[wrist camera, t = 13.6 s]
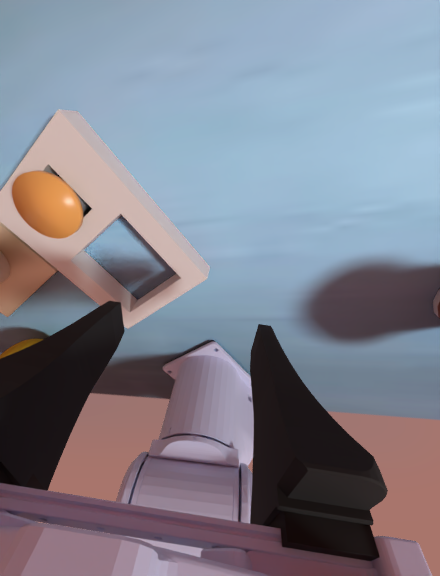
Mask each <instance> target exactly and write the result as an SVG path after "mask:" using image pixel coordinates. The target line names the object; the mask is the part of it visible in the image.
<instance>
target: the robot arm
mask: <svg viewBox="0 0 440 576" xmlns="http://www.w3.org/2000/svg"><path fill="white" fill-rule="evenodd" d="M123 334H124V324H123V316H122V307H121V302H115V301H108V302H106V303H104V304H103V305H101V306H100V307H98V308H97V309H95V310H93V311H92V312H90V313H89V314H87V315H86V316H84V317H82V318H81V319H79V320H78V321H76V322H74V323H73V324H71V325H69V326H67V327H66V328H64V329H62V330H60V331H59V332H57V333H55V334H53V335H51V336H50V337H48V338H46V339H44V340H42V341H40V342H38V343H35V344H33V345H31V346H29V347H27V348H25V349H22V350H20V351H18V352H15V353H13V354H10V355H8V356H6V357H3V358H1V359H0V576H432V574H431V572H430V570H429V567H428V565H427V562H426V560H425V557H424V555H423V553H422V550H421V548H420V546H419V544H418V543H417V542H416V541H411V540H405V539H398V538H392V537H385V536H377V537H373V534H372V530H371V527H370V525H373V519H372V516H371V513H370V509H371V508H372V507H374V506H375V505H377V504H378V503H379V502H381V501H382V500H383V499H384V498H385V497H386V495H387V491H388V490H387V488H386V486H385V483H384V480H383V478H382V475H381V472H380V470H379V468H378V466H377V464H376V461H375V459H374V457H373V456H372V455H371V454H370V453H369V452H367V451H366V450H365V449H364V448H363V447H362V446H361V445H360V444H359V443H357V442H356V441H355V440H354V439H353V438H352V437H351V436H350V435H349V434H348V433H347V432H346V431H345V430H344V429H343V428H342V427H341V426H340V425H339V424H338V423H337V422H336V421H335V420H334V419H333V418H332V417H331V416H330V415H329V414H328V412H327V411H326V410H325V409H324V408H323V407H322V406H321V404H320V403H319V402H318V401H317V400H316V399H315V397H314V396H313V395H312V394H311V392H310V391H309V390H308V388H307V387H306V386H305V384H304V383H303V382H302V380H301V379H300V377H299V376H298V374H297V373H296V371H295V370H294V368H293V366H292V365H291V363H290V362H289V360H288V358H287V356H286V355H285V353H284V351H283V349H282V347H281V345H280V344H279V342H278V340H277V338H276V336H275V333H274V331H273V329H272V327H271V326H267V325H261V324H259V325H258V329H257V332H256V336H255V339H254V343H253V346H252V350H251V361H250V374H251V376H250V375H249V374H248V373H247V372H246V371H245V370H244V369H243V368H242V367H241V366H240V365H239V364H238V363H237V362H236V361H235V360H234V359H233V358H232V357H231V356H230V355H229V354H228V353H227V352H226V351H225V350H224V349H223V348H222V347H221V346H220V345H219V344H218V343H216V342H210V343H208V344H206V345H204V346H202V347H200V348H198V349H196V350H194V351H192V352H189V353H187V354H185V355H183V356H181V357H179V358H177V359H175V360H173V361H171V362H169V363H167V364H165V365H164V366H163V370H164V371H165V372H166V373H167V374H168V375H170V376H171V377H172V378H173V379H175V383H174V387H173V390H172V394H171V397H170V401H169V405H168V408H167V412H166V415H165V419H164V422H163V426H162V430H161V433H160V436H159V440H153V441H152V444H151V447H150V451H149V452H142V453H141V454H140V455H139V456H138V457H137V458H136V459H135V460H134V461H133V462H132V463H131V465H130V466H129V468H128V470H127V472H126V474H125V476H124V479H123V481H122V484H121V487H120V489H119V492H118V496H117V499H116V502H114V501H108V500H102V499H96V498H89V497H83V496H77V495H71V494H65V493H59V492H53V491H47V490H48V488H49V485H50V482H51V480H52V477H53V475H54V472H55V470H56V467H57V465H58V462H59V460H60V457H61V455H62V453H63V450H64V448H65V446H66V443H67V441H68V439H69V436H70V434H71V432H72V429H73V427H74V425H75V423H76V421H77V418H78V416H79V414H80V412H81V410H82V408H83V406H84V404H85V402H86V400H87V398H88V396H89V394H90V392H91V390H92V388H93V387H94V385H95V383H96V382H97V380H98V379H99V377H100V375H101V374H102V372H103V370H104V369H105V367H106V366H107V364H108V362H109V361H110V359H111V357H112V356H113V354H114V352H115V351H116V349H117V347H118V345H119V343H120V341H121V338H122V336H123ZM215 348H217V349H215ZM252 458H253V473H252V472H251V471H250V470H249V469H248V465H249V464H250V462H251V460H252ZM35 521H37V522H35ZM38 522H43V523H38ZM47 523H49V524H47ZM54 524H55V525H54ZM60 525H61V526H60ZM66 526H68V527H66ZM72 527H74V528H72ZM78 528H80V529H78ZM84 529H86V530H84ZM90 530H92V531H90ZM96 531H98V532H96ZM103 532H104V533H103ZM109 533H110V534H109Z"/></svg>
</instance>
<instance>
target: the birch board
mask: <svg viewBox="0 0 440 576" xmlns="http://www.w3.org/2000/svg"><path fill="white" fill-rule="evenodd" d="M0 251H1V252H2V253H3V255H4V256H5V257H6V259H7V261H8V263H9V265H10V276H9V277H8V279H6V280H5V281H3V282H2V283H0V312H1V313H2V314H4V315H5V316H7V317H8V316H10V315H11V314H12V313H13V312H14V311H15V310H16V309H17V308H18V307H19V306H20V305H22V304H23V303H24V302H25V301H26V300H27V299H28V298H29V297H30V296H31V295H32V294H33V293H34V292H35V291H36V290H37V289H39V288H40V287H41V286H42V285H43V284H44V283H45V282H46V281H47V280H48V279H49V278H50V277H51V276H52V275H53V274H55V273H56V272H57V271H58V270H57V269H56V268H55V267H54V266H52V265H51V264H50V263H49V262H48V261H46V260H45V259H44V258H43V257H42V256H41V255H39V254H38V253H37V252H36V251H35V250H33V249H32V248H31V247H30V246H29V245H27V244H26V243H25V242H24V241H23V240H21V239H20V238H19V237H18V236H17V235H16V234H14V233H13V232H12V231H11V230H10V229H8V228H7V227H6V226H5V225H4V224H2V223H1V222H0Z"/></svg>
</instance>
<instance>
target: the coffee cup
mask: <svg viewBox="0 0 440 576" xmlns="http://www.w3.org/2000/svg"><path fill="white" fill-rule="evenodd" d="M433 310H434V313H435V314H436V315H437V316H438V317H439V318H440V289H439V290H438V291H437V294H436V296H435V298H434V300H433Z"/></svg>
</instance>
